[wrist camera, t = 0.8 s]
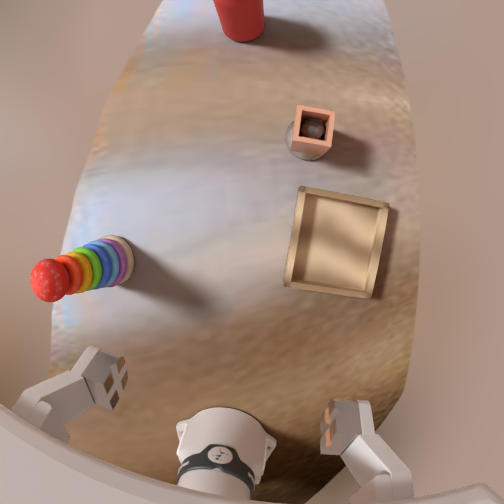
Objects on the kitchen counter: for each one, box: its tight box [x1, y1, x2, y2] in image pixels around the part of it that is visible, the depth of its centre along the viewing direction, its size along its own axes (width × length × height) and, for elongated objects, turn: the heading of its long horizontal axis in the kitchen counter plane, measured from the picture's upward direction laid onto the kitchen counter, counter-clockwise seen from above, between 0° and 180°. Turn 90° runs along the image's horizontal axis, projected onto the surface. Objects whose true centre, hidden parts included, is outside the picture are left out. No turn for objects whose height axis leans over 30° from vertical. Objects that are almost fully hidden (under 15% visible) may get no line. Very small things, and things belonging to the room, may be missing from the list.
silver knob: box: [285, 118, 324, 160], centre depth 38 cm, size 6×6×6 cm
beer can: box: [213, 0, 265, 42], centre depth 33 cm, size 7×7×12 cm
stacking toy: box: [30, 235, 134, 302], centre depth 37 cm, size 8×8×19 cm
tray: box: [283, 186, 389, 299], centre depth 42 cm, size 14×13×3 cm
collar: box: [290, 105, 335, 156], centre depth 37 cm, size 5×5×7 cm
